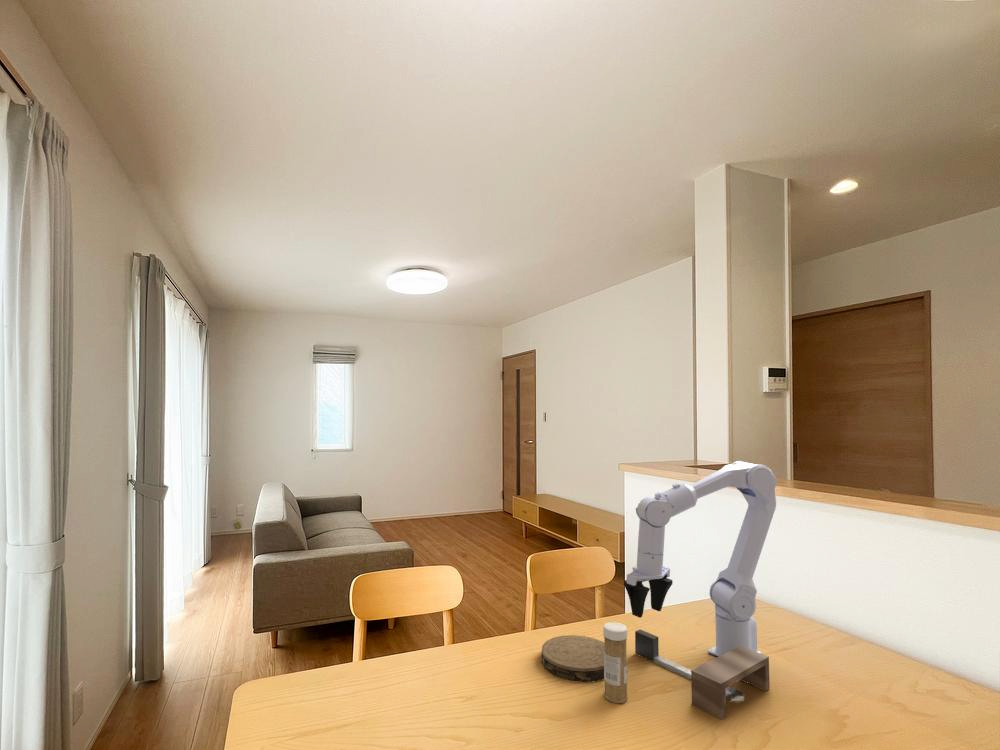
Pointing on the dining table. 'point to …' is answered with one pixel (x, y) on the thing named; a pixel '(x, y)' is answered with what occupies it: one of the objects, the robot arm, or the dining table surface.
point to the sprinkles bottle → (615, 662)
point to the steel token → (734, 695)
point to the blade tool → (656, 653)
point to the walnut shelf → (727, 678)
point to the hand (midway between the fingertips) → (646, 612)
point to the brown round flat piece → (574, 658)
